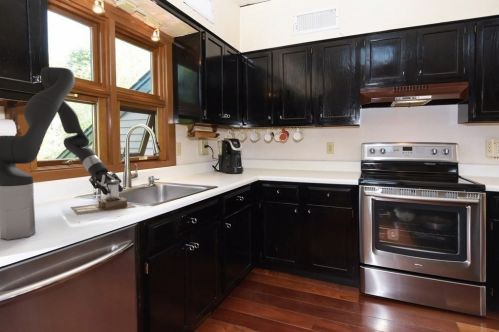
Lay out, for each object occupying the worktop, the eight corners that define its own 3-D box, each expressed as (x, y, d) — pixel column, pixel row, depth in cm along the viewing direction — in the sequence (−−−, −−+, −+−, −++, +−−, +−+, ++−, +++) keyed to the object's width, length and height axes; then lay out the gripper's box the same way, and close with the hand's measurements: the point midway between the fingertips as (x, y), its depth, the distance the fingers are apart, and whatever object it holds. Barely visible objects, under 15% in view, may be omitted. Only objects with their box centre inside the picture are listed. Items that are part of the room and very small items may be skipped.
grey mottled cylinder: (121, 206, 134) (120, 180, 133) (108, 207, 130) (107, 181, 129) (117, 204, 138) (117, 179, 137) (105, 205, 134) (104, 180, 133)
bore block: (136, 210, 132) (136, 200, 132) (77, 218, 117) (76, 207, 117) (124, 203, 146) (124, 195, 146) (70, 210, 131) (69, 200, 130)
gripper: (86, 162, 128) (106, 189, 125) (111, 160, 142) (130, 185, 139) (77, 173, 131) (97, 200, 128) (103, 170, 144) (121, 195, 141)
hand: (114, 192), depth 133 cm, fingers open, 8 cm apart
